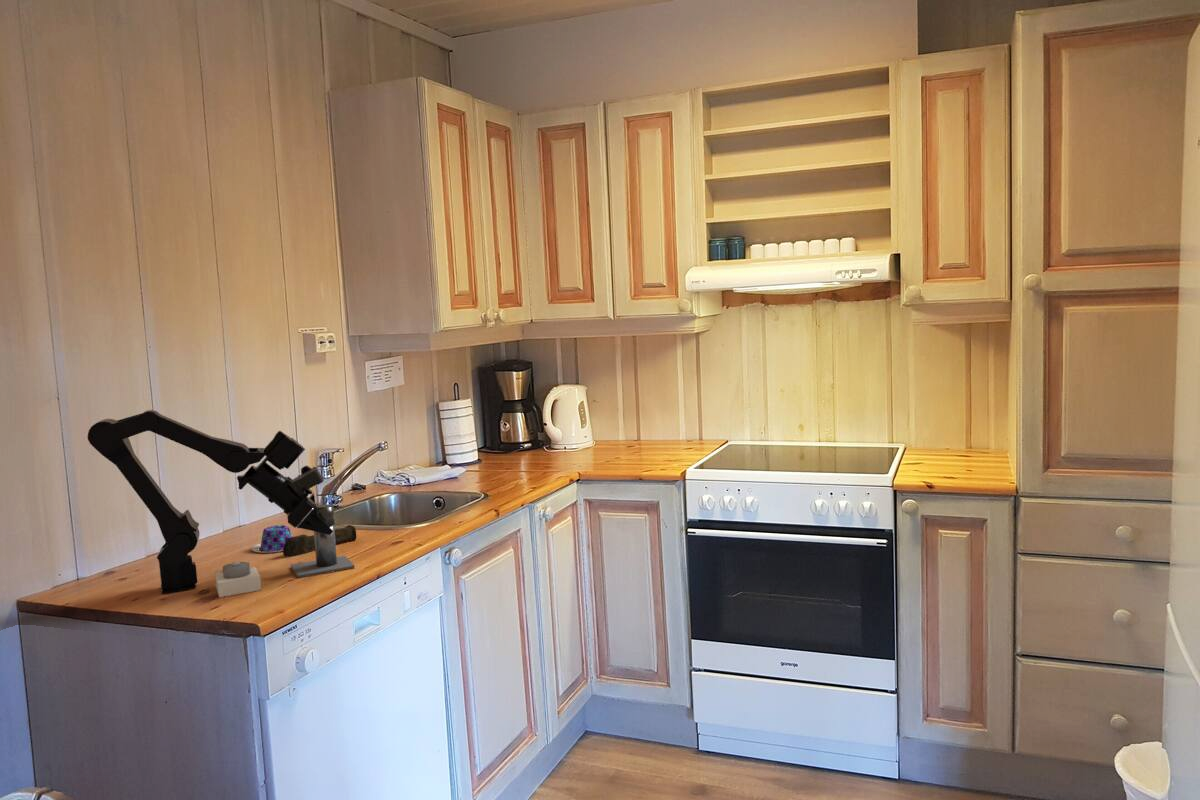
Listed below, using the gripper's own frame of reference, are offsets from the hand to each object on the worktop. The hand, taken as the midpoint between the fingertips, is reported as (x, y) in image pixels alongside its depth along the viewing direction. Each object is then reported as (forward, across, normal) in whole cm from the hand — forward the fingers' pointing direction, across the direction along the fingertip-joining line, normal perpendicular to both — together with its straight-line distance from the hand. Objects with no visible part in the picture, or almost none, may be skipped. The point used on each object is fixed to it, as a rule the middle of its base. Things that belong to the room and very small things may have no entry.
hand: (330, 528), depth 199 cm
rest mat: (+4, 0, +8) cm, 9 cm away
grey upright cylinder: (+5, 0, +7) cm, 8 cm away
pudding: (-2, +25, +15) cm, 29 cm away
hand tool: (+5, +18, +8) cm, 20 cm away
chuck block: (-8, -8, +20) cm, 23 cm away
